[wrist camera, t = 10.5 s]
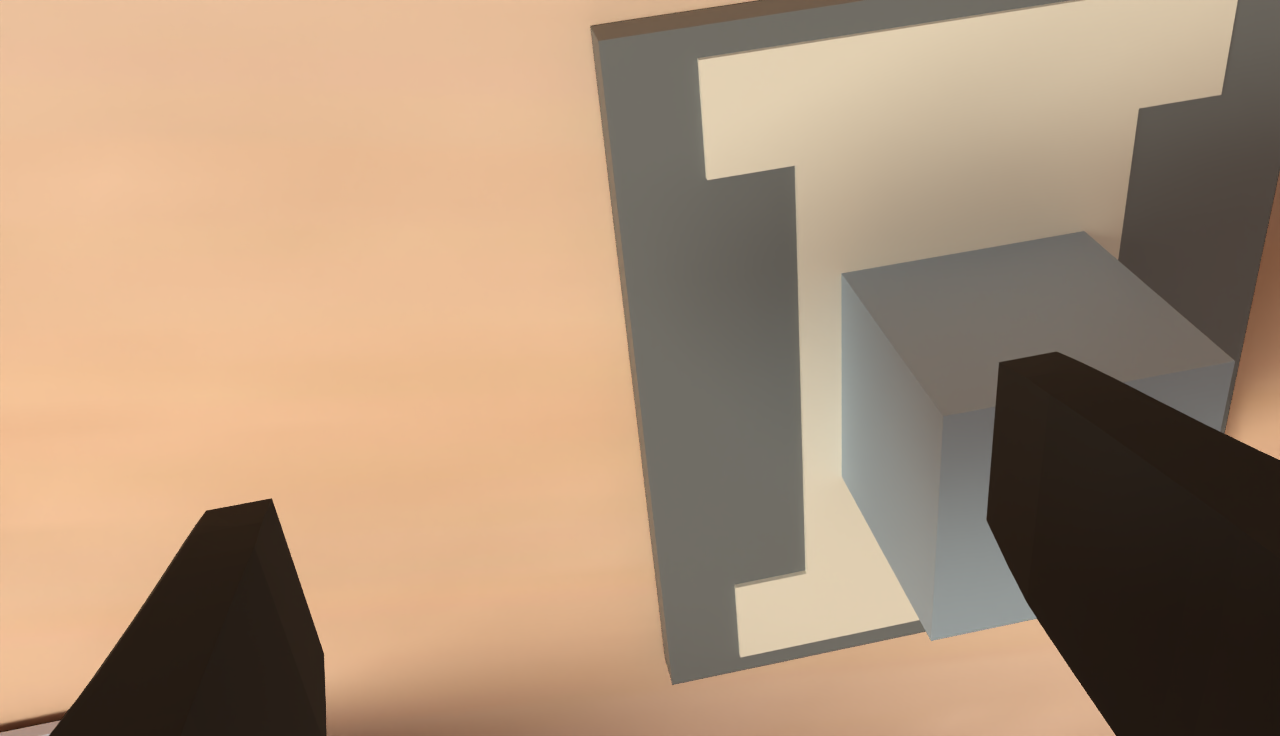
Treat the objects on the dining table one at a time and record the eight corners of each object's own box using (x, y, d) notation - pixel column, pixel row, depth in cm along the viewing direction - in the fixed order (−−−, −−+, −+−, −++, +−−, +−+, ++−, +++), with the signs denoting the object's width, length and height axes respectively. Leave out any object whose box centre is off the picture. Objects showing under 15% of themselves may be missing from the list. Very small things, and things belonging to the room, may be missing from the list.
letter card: (665, 658, 26) (673, 688, 26) (590, 26, 19) (599, 43, 18) (1175, 551, 28) (1197, 577, 27) (1297, -81, 20) (1334, -70, 19)
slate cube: (842, 477, 23) (931, 640, 20) (841, 273, 21) (942, 416, 17) (1059, 435, 24) (1188, 587, 20) (1084, 231, 21) (1235, 361, 18)
